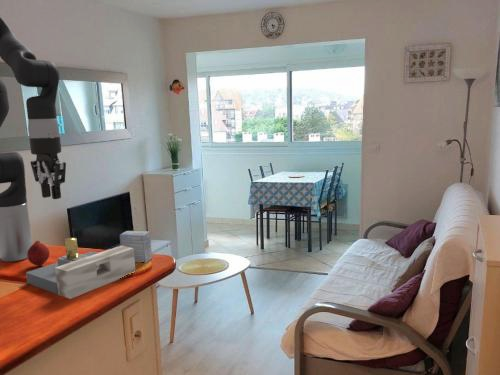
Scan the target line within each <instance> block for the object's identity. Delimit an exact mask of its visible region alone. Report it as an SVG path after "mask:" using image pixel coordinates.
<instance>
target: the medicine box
mask: <svg viewBox="0 0 500 375" xmlns="http://www.w3.org/2000/svg"><path fill="white" fill-rule="evenodd" d="M119 242H120V243H119V244H120V245H119V246H126V247H131V248H134V259H135V263H136V262H144V263H143V264H147V263H148V262H149V261H150V260H152V259H153V254H152V240H151V232H150V231H149V230H148V231H146V230H143V231H142V230H141V231H140V230H125V231H124V232H122V233H120V234H119Z"/></svg>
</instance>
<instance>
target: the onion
mask: <svg viewBox="0 0 500 375" xmlns="http://www.w3.org/2000/svg"><path fill="white" fill-rule="evenodd" d="M27 257H28V258H27V260H28V261H29V262H30V264H32V265H34V266H36V267H37V266H38V267H43V265H44V264H45V263H46V262H47V261H48V259H49V257H50V249H49V248H48V247H47V246H46V245H45V244H44V243H42V242H41V241H40V239H36V240H35V241H34V243H32V246H31V247H30V248H29V250H28V253H27Z"/></svg>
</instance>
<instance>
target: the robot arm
mask: <svg viewBox="0 0 500 375" xmlns="http://www.w3.org/2000/svg"><path fill="white" fill-rule="evenodd" d="M0 59H1V60H3V62H4V63H5V64H6V65H8V67H9V68H10V69H11V71H12V73H13V75H14V78H15V81H16V82H17V83H18V84H19V85H22V86H24V87H27V88H41V91H40V93H39V95H34V96H30V97H28V98H27V99H26V101H25V102H26V103H25V104H26V105H25V106H26V112H27V132H28V137H29V138H28V140H29V146H30V153H31V155H35V156H36V159H35V160H31V161H30V166H31V170H32V174H33V177H34V181H35V182H37V183H38V184H39V185H40V190H41V196H42V198H43V199H46V198H51V199H53V200H58V199H61V198H62V193H61V185H62V184H63V183H65V182H66V173H67V172H66V170H67V169H66V167H67V163H66V162H65V161H60V160H59V159H60V158H59V156H58V154H59V153H62V144H61V135H60V127H59V123H58V118H57V116H58V115H57V108H56V101H57V95H58V94H57V93H58V87H59V83H60V72H59V69H58V67H57V65H56V64H55V63H54V62H52V61H49V60H45V59H44V60H42V59H37V57H36V55H35V54H34V52H32V50H31V49H29V48H28V47H27V46H26V45H25V44H24V43H23V42H21V41H20V40H19V39H18V38H17V37H16V35H15V34H14V32H13V31H12V29H11V28H10V26H9V25H8V24H7V22H6V21H5V19H4V18H3V17H2V16H1V15H0ZM9 110H10V104H9V96H8V90H7V86H6V85H5V83H4V81H3V80H2V78H1V77H0V128H1V127H2V126H3V124H4V122H5V120H6V118H7V116H8V115H9ZM7 183H9V184H10V185H9V186H8V187H7V188H6V189H5V190H4V191H1V192H0V261H2V262H16V261H22V260H26V259H28V257H27V253H28V250H29V248H30V247H31V246H32V245H33V238H32V230H31V223H30V215H29V206H28V200H27V187H26V170H25V163H24V159H23V157H22V155H21V154H20V153H19V152H16V151H11V152H9V151H8V152H7V151H6V152H0V184H7Z"/></svg>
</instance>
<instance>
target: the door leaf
mask: <svg viewBox="0 0 500 375" xmlns="http://www.w3.org/2000/svg"><path fill="white" fill-rule="evenodd" d="M98 253H99V252H97V251H88V252H85V253H83V254H82V253H78V255H79V256H82V257H89V256H92V255H95V254H98ZM56 259H57V262H54V263H52V264H48V265H45V266H40V267H38V268H35V269H32V270H29V271H26V272H25V276H26V282H27V284H28V285H31V286H34V287H37V288H39V289H41V290H44V291H48V292H50V293H52V294H55V295H58V289H57V281H56V272H55V267H58V266H61V265H64V264H67V263H70V262H73V261H71V260H67V259H64V258H61V257H57V258H56ZM97 268H99V265H97V266H96V269H97Z"/></svg>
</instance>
